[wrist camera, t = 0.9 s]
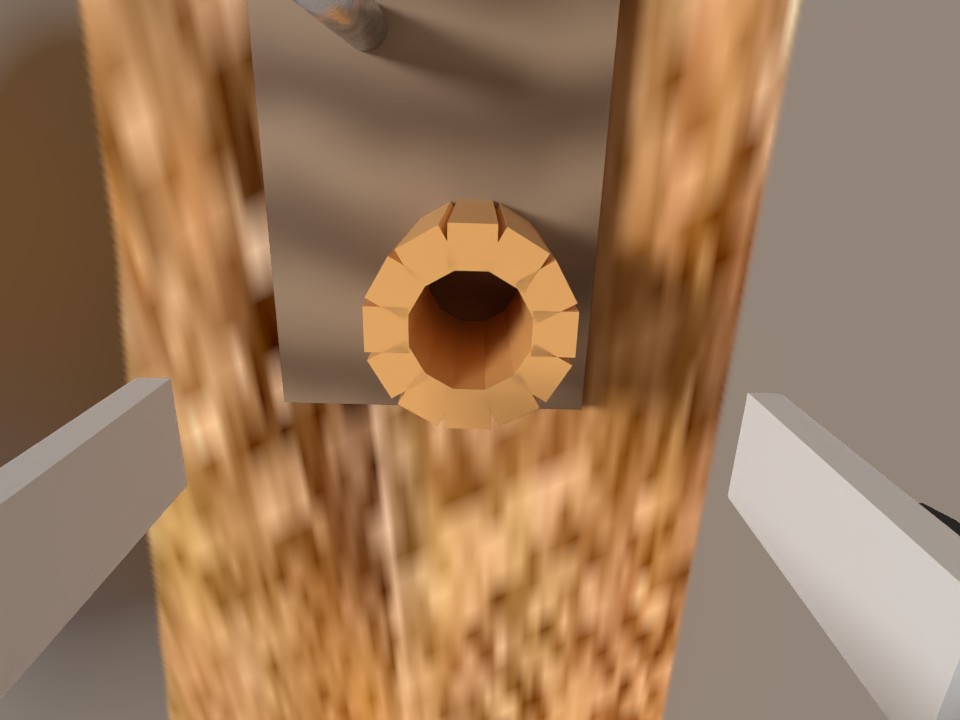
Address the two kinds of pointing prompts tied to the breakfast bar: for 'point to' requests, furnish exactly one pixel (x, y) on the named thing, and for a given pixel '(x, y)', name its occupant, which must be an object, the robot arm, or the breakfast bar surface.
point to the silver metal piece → (350, 20)
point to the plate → (424, 161)
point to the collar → (470, 344)
